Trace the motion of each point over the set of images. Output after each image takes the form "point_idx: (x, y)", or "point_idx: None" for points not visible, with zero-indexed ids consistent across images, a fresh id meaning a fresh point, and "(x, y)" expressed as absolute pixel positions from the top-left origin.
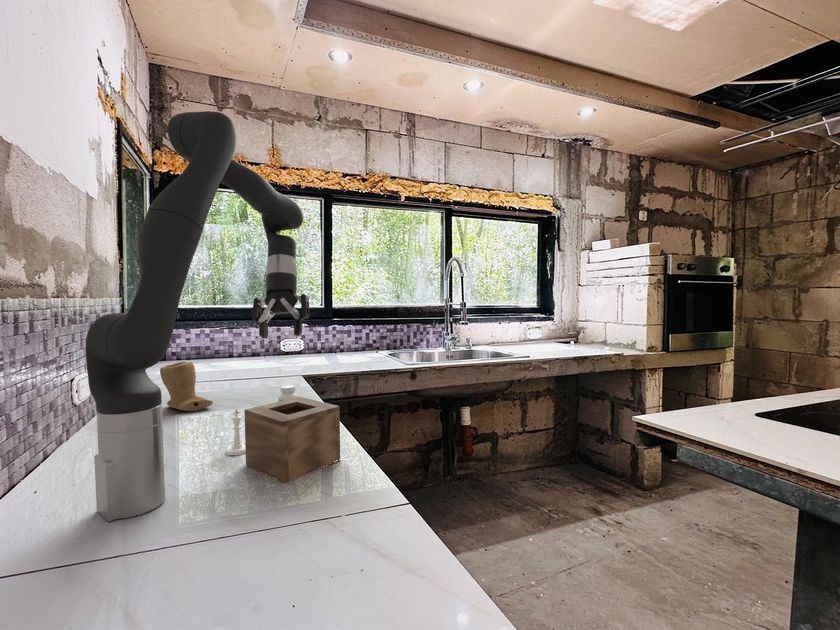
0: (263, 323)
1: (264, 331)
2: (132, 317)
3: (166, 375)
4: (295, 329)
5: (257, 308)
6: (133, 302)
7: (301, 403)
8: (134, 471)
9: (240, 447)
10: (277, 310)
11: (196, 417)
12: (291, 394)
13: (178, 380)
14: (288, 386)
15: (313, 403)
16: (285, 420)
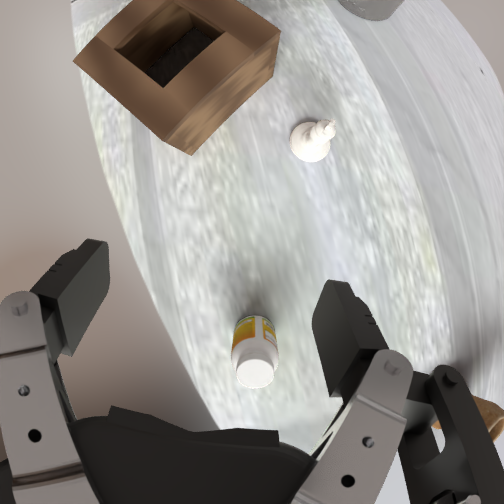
0: (362, 343)
1: (335, 308)
2: None
3: (498, 406)
4: (81, 252)
5: (465, 459)
6: None
7: (150, 78)
8: None
9: (303, 133)
10: (220, 449)
11: (428, 351)
12: (243, 353)
13: (479, 407)
14: (254, 375)
15: (122, 74)
16: None
